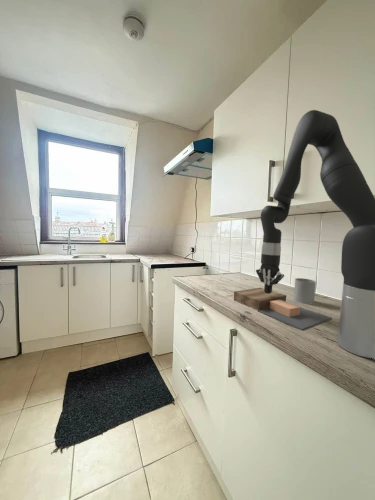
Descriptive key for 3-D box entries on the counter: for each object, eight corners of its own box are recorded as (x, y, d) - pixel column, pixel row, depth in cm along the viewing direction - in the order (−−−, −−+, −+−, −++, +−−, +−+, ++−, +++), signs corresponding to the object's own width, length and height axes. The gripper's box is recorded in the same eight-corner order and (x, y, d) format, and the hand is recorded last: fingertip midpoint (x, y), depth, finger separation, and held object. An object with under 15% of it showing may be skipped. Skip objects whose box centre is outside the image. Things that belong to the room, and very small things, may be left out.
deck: (285, 304, 88) (286, 295, 88) (258, 310, 79) (259, 300, 79) (259, 295, 100) (260, 287, 100) (233, 300, 91) (234, 291, 91)
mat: (331, 318, 74) (331, 317, 74) (301, 330, 64) (301, 329, 64) (287, 304, 89) (287, 303, 89) (257, 311, 78) (257, 310, 78)
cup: (318, 304, 91) (320, 282, 90) (302, 304, 89) (304, 282, 88) (304, 298, 99) (306, 278, 98) (289, 298, 98) (291, 278, 97)
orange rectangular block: (299, 314, 76) (300, 307, 75) (289, 316, 73) (289, 309, 73) (279, 306, 84) (280, 299, 83) (269, 308, 81) (270, 301, 81)
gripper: (290, 255, 81) (287, 296, 82) (263, 251, 92) (260, 288, 94) (279, 255, 77) (275, 298, 79) (252, 251, 88) (249, 290, 90)
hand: (267, 293), depth 86 cm, fingers closed
